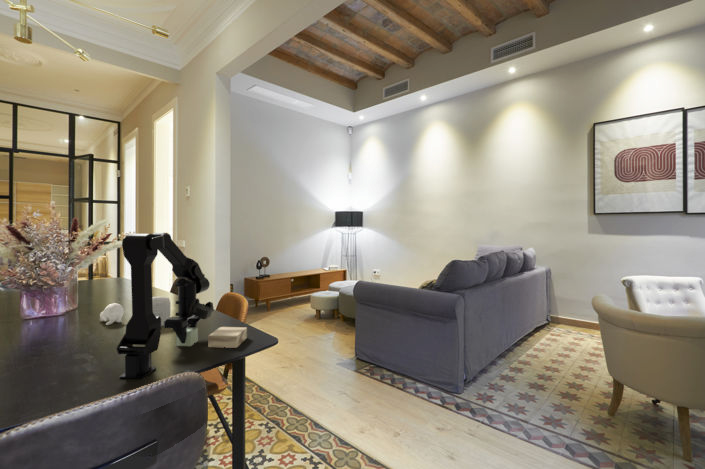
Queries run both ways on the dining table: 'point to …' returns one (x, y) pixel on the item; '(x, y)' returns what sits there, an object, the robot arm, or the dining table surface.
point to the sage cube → (189, 337)
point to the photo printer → (161, 308)
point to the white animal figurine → (112, 313)
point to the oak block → (227, 337)
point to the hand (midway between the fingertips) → (187, 340)
